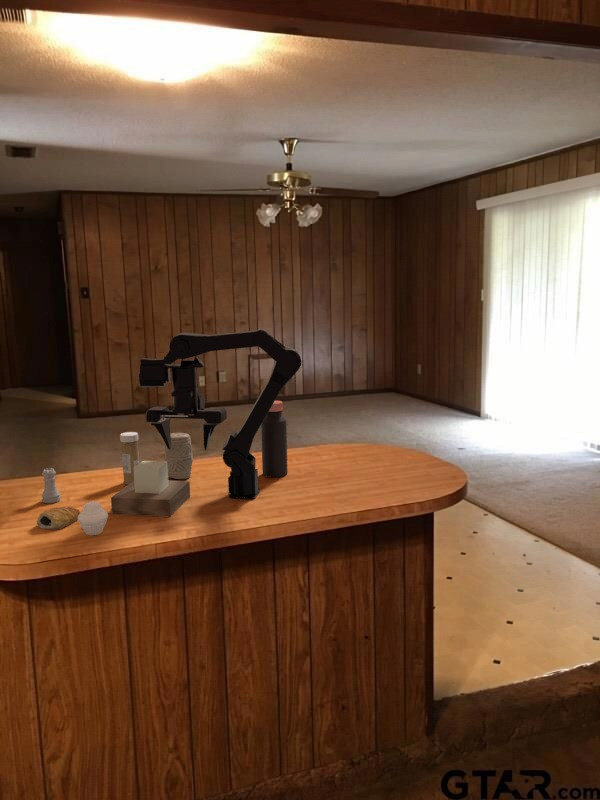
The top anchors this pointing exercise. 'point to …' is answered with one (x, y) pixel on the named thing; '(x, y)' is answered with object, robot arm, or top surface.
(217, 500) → the top surface
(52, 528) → the pastry
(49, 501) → the rook chess piece
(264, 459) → the vinegar
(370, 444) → the top surface
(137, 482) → the sage cube
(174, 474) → the carving
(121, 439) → the sprinkles bottle
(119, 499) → the walnut base
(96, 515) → the muffin
